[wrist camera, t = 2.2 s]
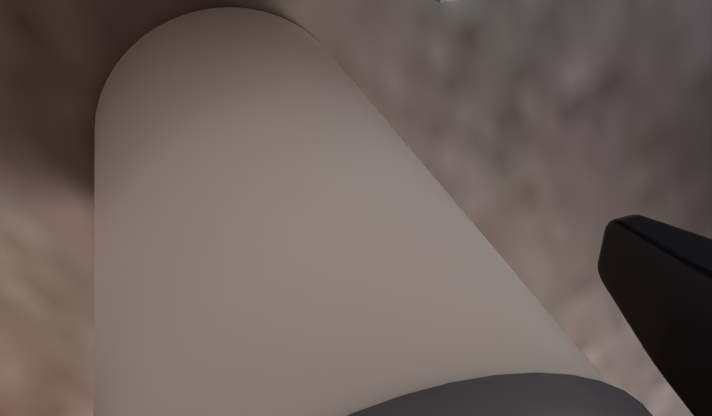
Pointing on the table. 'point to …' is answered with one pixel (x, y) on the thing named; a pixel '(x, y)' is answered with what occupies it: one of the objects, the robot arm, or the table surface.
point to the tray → (444, 0)
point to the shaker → (297, 249)
